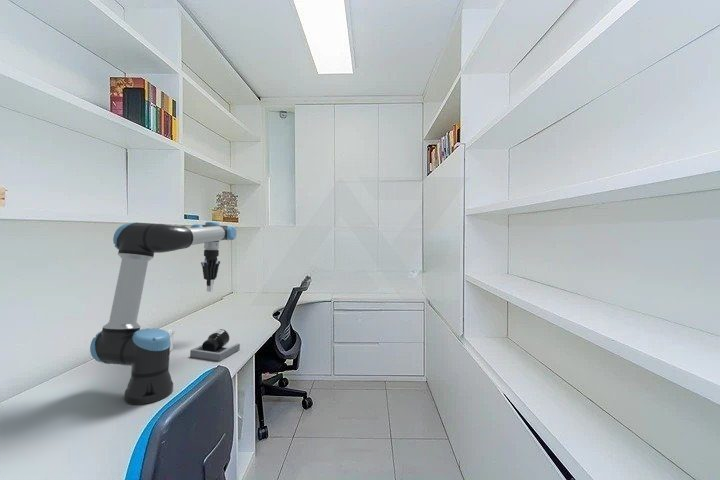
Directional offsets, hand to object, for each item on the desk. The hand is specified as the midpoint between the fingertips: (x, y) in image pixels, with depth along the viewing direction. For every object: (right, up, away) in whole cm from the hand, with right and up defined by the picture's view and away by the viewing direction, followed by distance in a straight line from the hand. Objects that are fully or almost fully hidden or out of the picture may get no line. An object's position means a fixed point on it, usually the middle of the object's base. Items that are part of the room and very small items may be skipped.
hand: (209, 291), depth 173 cm
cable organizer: (-15, -28, -23) cm, 39 cm away
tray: (+11, -29, -16) cm, 35 cm away
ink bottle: (+10, -23, -7) cm, 26 cm away
